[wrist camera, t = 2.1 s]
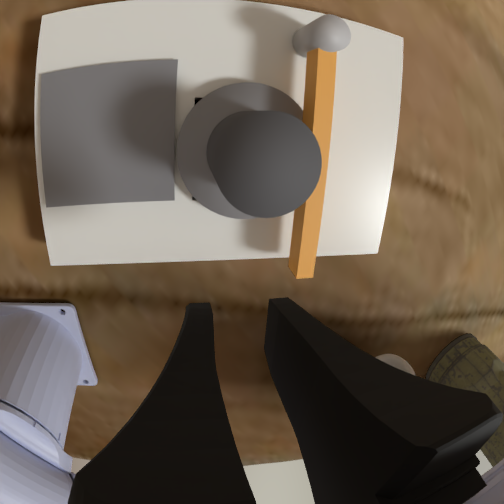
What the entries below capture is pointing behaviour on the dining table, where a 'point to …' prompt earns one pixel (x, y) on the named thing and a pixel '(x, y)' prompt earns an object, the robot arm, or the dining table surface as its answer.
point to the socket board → (172, 117)
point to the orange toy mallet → (316, 128)
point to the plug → (248, 152)
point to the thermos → (474, 380)
